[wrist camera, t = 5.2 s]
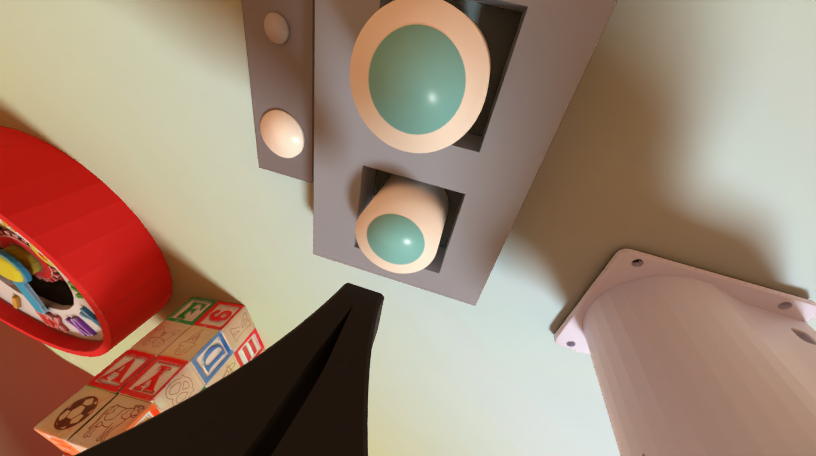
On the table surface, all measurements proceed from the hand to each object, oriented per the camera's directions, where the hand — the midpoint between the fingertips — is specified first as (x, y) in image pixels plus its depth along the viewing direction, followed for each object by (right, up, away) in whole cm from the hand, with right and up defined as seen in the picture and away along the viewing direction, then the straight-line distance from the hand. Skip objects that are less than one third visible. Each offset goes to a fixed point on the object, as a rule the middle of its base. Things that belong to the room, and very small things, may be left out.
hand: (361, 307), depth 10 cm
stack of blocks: (-15, -13, +23) cm, 31 cm away
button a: (+2, +4, +7) cm, 8 cm away
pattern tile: (-4, +12, +4) cm, 13 cm away
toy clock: (-29, +2, +18) cm, 35 cm away
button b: (+3, +9, +1) cm, 9 cm away
